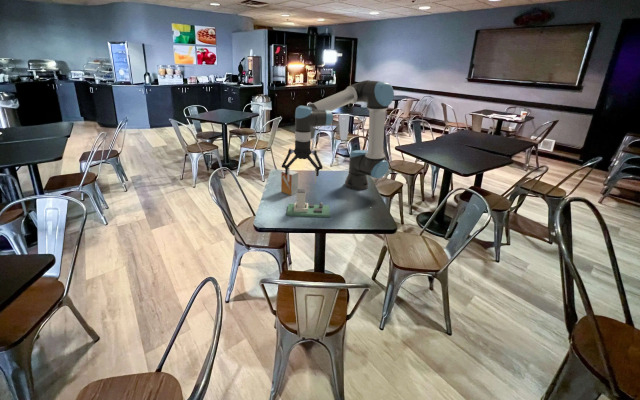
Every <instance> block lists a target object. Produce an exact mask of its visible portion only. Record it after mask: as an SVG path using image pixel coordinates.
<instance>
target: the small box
mask: <svg viewBox="0 0 640 400" xmlns="http://www.w3.org/2000/svg"><path fill="white" fill-rule="evenodd" d="M280 174H281V181H280V182H281V183H280V184H281V185H280V187H281V190H280V191H281V193H284V194H287V195H288V196H294V195H297V191H298V189H299V172H298V171H295V170H291V169H289V182H287V175H286V174H285V170H283V171H282V170H281V173H280Z"/></svg>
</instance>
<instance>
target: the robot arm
mask: <svg viewBox="0 0 640 400" xmlns="http://www.w3.org/2000/svg"><path fill="white" fill-rule="evenodd" d="M394 96H395V91H394V88H393V86H392V85H391V84H390V83H388V82H385V81H379V80H369V79H367V80H362V81H359V82H357V83H354V84H351V85H349V86H347V87H346V88H345V89H344V90H341V91H339V92H337V93H335V94H332V95H329V96H327V97H325V98H323V99H320V100H318V101H315V102H313V103H310V104H308V105H307V104H306V105H298V106H297V107H296V108H295V113H294V119H295V120H294V123H295V124H294V126H295V128H294V129H295V132H294V139H295V140H294V149H292V148H288V152H287V155H286V157H285V159H284V160H283V163H282V164H281V168H282V169H285V170H284V171H285V174H286V175H287V182H289V170H290V167H291V166H292V164H293V163H294V162H295V161H297V159H298V160H308V161H309V162H310V164H311V165H312V166H313V168H314V183H315V184H316V183H317V177H319V176H320V175H319V174H320V173H319V172H320V170H323V165H322V162H321V160H320V158H319V155H318V150H317V149H314V150H312V149H311V145H312V144H311V142H312V141H311V138H312V128H313V127H314V128H315V127H316V128H317V127H327V126H329V125H331V124H332V123H333V119H334V115H333V111H335V110H337V109H339V108H342V107H344V106H346V105H348V104H357V103H366V109H367V110H368V111H369V114H368V122H369V123H368V139H367V140H368V142H367V145H368V146H367V150H366V149H357V150H356V149H355V150H353V151H351V152H350V153H349V154H350V155H349V161H348V162H349V163H348V174H347V177H346V179H345V181H344V186H345V187H346V188H348V189H351V190H356V191H358V190H359V191H361V190H366V189H368V188H369V179H368V176H369V177H370V178H373V179H381V178H383V177H384V176H385V175H386V174H387V173H388V171H389V166H390V163H389V162H388V161H387V160H386V155H385V153H384V142H385V141H384V140H385V139H384V137H385V123H386V111H387V110H388V109H389V107H390V105H391V104H392V102H393V101H394ZM292 154H294V156H293V157H292V158H291V159H290V161H288V160H289V158H290V156H291V155H292ZM311 155H312V156H314V158H315V160H316V162H315V160H314V159H313V158H312V157H311ZM287 162H288V163H287Z"/></svg>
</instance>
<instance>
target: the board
mask: <svg viewBox="0 0 640 400" xmlns="http://www.w3.org/2000/svg"><path fill="white" fill-rule="evenodd" d="M330 213H331V211H330V205H328V204H324V203H323V202H319V203H318V204H313V203H311V204H309V202H305V208H297V201H296V202H294V203H288V206H287V212H286V216H289V217H291V216H292V217H314V218H317V217H318V218H320V217H321V218H331V214H330Z"/></svg>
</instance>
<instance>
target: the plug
mask: <svg viewBox="0 0 640 400" xmlns="http://www.w3.org/2000/svg"><path fill="white" fill-rule="evenodd" d="M296 196H297V197H296V203H297V208H305V203H306V189H304V188H303V189H301V188H298V191H297V193H296Z"/></svg>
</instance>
